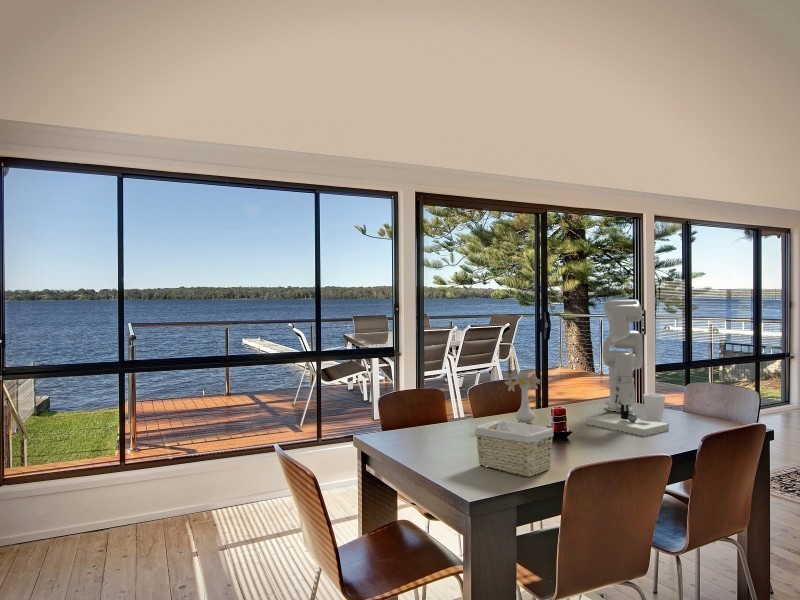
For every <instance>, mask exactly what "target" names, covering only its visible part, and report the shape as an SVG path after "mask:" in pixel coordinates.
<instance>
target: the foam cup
mask: <svg viewBox="0 0 800 600" xmlns="http://www.w3.org/2000/svg"><path fill="white" fill-rule="evenodd" d="M665 401H666V396H665V394H662V393H652V392H651V393H644V394H643V402H644V408H645V415H646V420H651V421H656V422H662V423H663V417H664V408H665V407H664V406H665Z"/></svg>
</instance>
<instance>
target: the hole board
mask: <svg viewBox="0 0 800 600" xmlns="http://www.w3.org/2000/svg"><path fill="white" fill-rule="evenodd" d="M586 423H587V425H588V424H589V426H592V425H595V426H594V427H597V426H599V427H598V428H602V427H604V428H603V429H607V428H609V429H608V430H612V429H614V430H613V431H617V430H619V431H618V432H621V431H623V432H622V433H626V432H628V433H627V434H631V433H633V434H632V435H636V434H637V436H641V435H642V437H647V435H648V436H651V434H652V435H656V434H659V432H660V433H663V432H662V431H665V432H668V431H667V430H669V431H670V424H669V423H666V422H663V421H662V422H656V421H651V420H647V419H645V418H639V417H637V420H636V421H635V422H630V421H629V420H628V419H627V420H625V419H621V414H616V413H608V414H603V415H597V416H592V417H587V422H586ZM655 433H656V434H655Z"/></svg>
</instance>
